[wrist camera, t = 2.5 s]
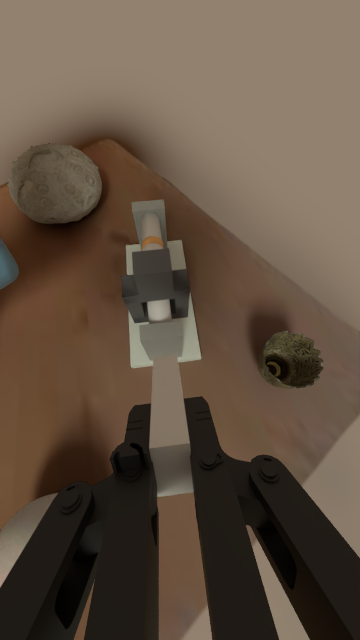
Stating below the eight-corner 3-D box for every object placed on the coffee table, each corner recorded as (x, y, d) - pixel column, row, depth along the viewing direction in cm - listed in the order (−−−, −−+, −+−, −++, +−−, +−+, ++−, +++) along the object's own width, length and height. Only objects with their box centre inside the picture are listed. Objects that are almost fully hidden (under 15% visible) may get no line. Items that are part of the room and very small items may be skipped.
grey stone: (94, 240, 47) (73, 197, 38) (12, 230, 48) (-28, 186, 39) (116, 182, 54) (103, 134, 45) (44, 175, 55) (17, 126, 46)
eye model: (6, 565, 27) (-83, 639, 18) (53, 470, 31) (0, 491, 22) (80, 606, 26) (25, 709, 17) (120, 501, 30) (93, 538, 20)
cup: (245, 388, 35) (262, 379, 28) (249, 343, 38) (266, 325, 31) (294, 399, 35) (325, 393, 27) (295, 352, 38) (323, 336, 30)
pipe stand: (200, 359, 37) (208, 336, 27) (132, 368, 36) (114, 348, 26) (181, 244, 47) (181, 195, 37) (127, 249, 46) (112, 201, 36)
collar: (187, 317, 35) (191, 269, 24) (134, 323, 34) (113, 277, 23) (185, 299, 36) (187, 246, 25) (133, 305, 35) (113, 253, 24)
